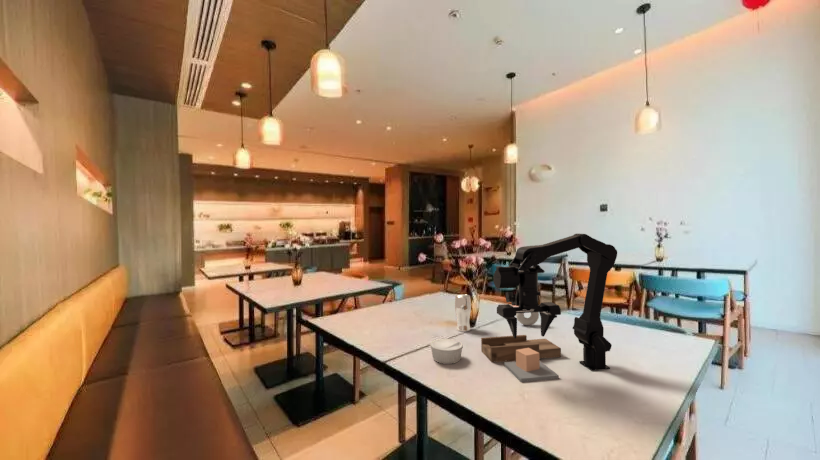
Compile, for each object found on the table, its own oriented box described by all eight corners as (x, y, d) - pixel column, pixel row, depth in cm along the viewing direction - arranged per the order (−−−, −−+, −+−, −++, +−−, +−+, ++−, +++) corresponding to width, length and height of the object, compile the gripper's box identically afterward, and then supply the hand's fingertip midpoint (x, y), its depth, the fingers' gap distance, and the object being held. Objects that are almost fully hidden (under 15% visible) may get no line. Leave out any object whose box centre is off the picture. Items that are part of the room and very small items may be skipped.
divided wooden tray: (561, 356, 117) (560, 342, 117) (491, 362, 114) (491, 347, 114) (545, 346, 127) (545, 333, 127) (481, 351, 124) (481, 337, 124)
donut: (537, 324, 155) (537, 302, 155) (540, 326, 151) (539, 304, 151) (515, 324, 156) (515, 302, 156) (517, 326, 152) (516, 304, 152)
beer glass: (452, 328, 151) (451, 295, 151) (465, 326, 154) (464, 293, 154) (461, 333, 145) (460, 298, 145) (474, 330, 148) (473, 296, 148)
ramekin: (462, 366, 111) (461, 350, 111) (428, 364, 113) (428, 349, 113) (463, 353, 122) (463, 339, 122) (432, 352, 124) (432, 337, 124)
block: (539, 368, 105) (539, 353, 105) (526, 371, 104) (526, 355, 104) (528, 362, 110) (528, 347, 110) (516, 365, 108) (515, 349, 108)
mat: (558, 378, 101) (558, 375, 101) (520, 382, 99) (520, 378, 99) (538, 362, 113) (538, 359, 113) (503, 365, 111) (503, 362, 111)
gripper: (542, 281, 115) (543, 327, 115) (489, 284, 112) (490, 330, 113) (561, 287, 104) (562, 338, 104) (503, 290, 101) (504, 342, 101)
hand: (528, 337), depth 106 cm, fingers open, 9 cm apart
